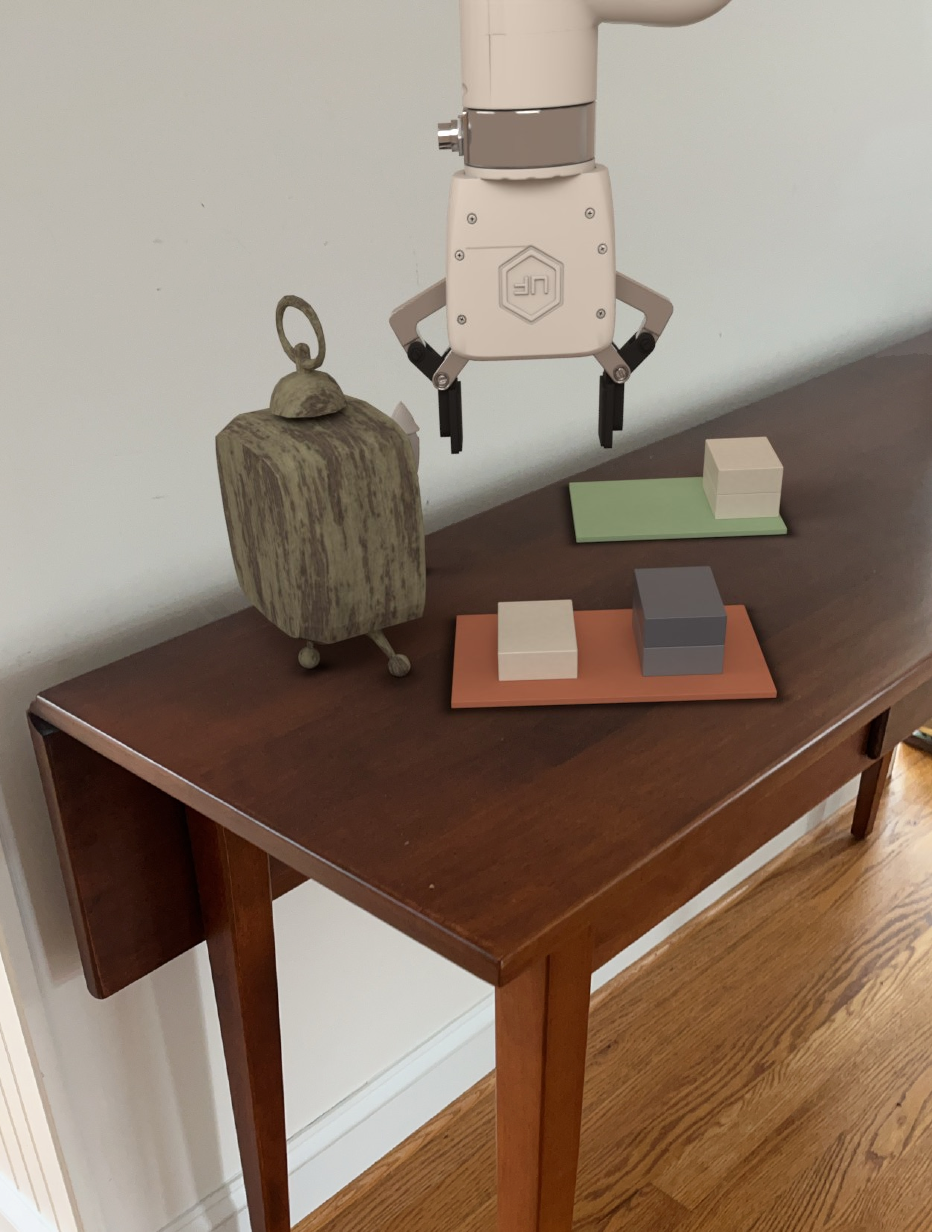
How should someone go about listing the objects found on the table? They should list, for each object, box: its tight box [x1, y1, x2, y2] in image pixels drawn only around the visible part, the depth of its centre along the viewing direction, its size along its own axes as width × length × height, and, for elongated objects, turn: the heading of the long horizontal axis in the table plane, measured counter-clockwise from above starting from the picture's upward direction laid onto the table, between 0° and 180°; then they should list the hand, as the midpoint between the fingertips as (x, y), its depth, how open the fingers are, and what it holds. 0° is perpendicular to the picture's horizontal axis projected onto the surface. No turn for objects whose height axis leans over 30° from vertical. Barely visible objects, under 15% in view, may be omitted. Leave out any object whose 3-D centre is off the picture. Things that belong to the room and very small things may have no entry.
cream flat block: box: [497, 599, 578, 681], centre depth 90 cm, size 6×8×2 cm, turn 178°
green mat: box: [568, 476, 788, 543], centre depth 113 cm, size 18×14×1 cm
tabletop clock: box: [214, 294, 427, 678], centre depth 85 cm, size 14×9×25 cm, turn 30°
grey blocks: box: [632, 565, 727, 677], centre depth 89 cm, size 6×8×4 cm, turn 178°
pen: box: [390, 400, 421, 482], centre depth 101 cm, size 2×3×14 cm
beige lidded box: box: [702, 436, 784, 520], centre depth 111 cm, size 6×8×4 cm, turn 178°
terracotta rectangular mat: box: [450, 604, 778, 709], centre depth 90 cm, size 22×14×1 cm, turn 88°
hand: (530, 444), depth 81 cm, fingers open, 9 cm apart
